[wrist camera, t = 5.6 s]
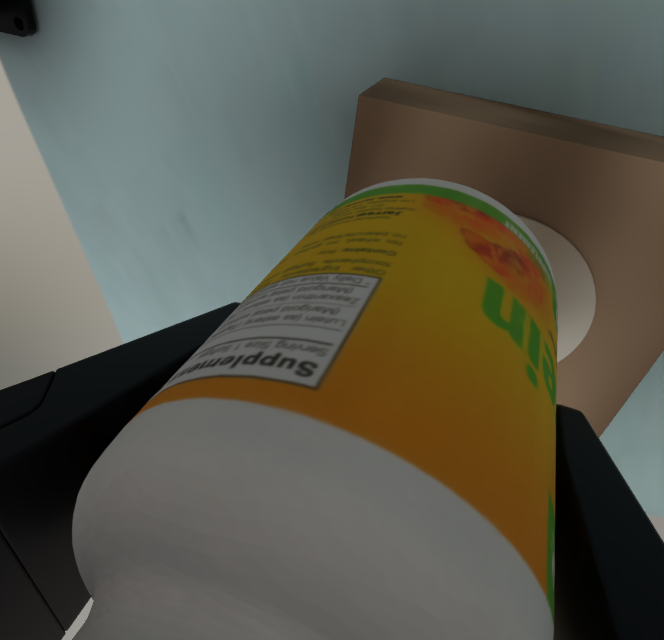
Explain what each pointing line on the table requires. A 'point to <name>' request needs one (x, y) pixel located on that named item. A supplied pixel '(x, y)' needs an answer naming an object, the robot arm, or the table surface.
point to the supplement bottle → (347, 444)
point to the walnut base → (546, 216)
